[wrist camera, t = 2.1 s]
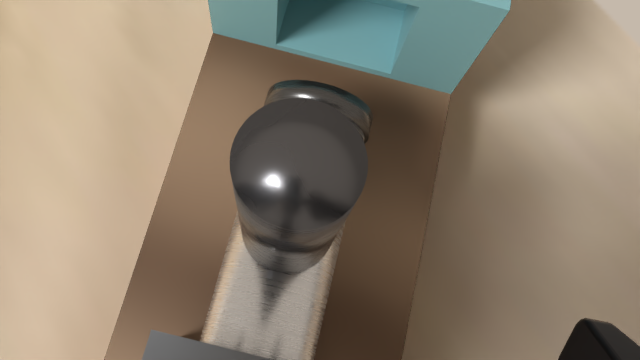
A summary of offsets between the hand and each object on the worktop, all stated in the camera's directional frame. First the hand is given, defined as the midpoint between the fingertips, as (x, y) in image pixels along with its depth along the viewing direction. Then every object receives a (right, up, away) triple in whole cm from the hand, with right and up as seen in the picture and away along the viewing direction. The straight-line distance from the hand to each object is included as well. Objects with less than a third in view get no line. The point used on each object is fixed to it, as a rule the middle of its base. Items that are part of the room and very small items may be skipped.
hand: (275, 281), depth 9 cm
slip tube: (-1, -3, +7) cm, 8 cm away
